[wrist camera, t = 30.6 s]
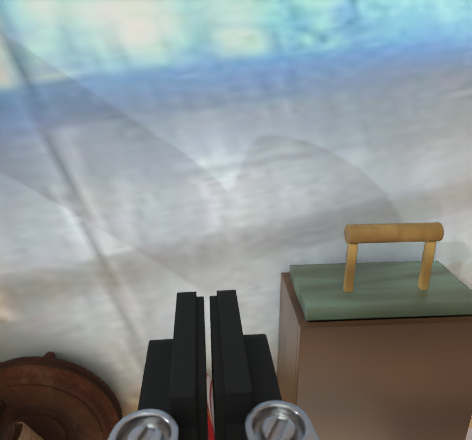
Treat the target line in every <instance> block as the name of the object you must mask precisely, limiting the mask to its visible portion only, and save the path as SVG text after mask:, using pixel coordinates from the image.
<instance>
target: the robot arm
mask: <svg viewBox="0 0 472 440" xmlns="http://www.w3.org/2000/svg"><path fill="white" fill-rule="evenodd" d="M210 324H211V357H212V386H213V408H214V429H215V440H320V438H319V436H318V434H317V432H316V430H315V428H314V426H313V424H312V422H311V420H310V418H309V417H308V416H307V414H306V413H305V412H304V411H303V410H302V409H300V408H299V407H298V406H296V405H294V404H292V403H289V402H286V401H282V398H281V393H280V389H279V385H278V381H277V377H276V373H275V369H274V365H273V361H272V357H271V353H270V349H269V345H268V341H267V337H266V335H265V334H255V335H243V332H242V326H241V319H240V313H239V307H238V301H237V295H236V290H224V291H217V296H210ZM108 440H208V409H207V376H206V347H205V319H204V296H203V297H196V292H181V293H177V300H176V312H175V324H174V336H173V339H164V340H150V341H149V345H148V351H147V357H146V363H145V369H144V375H143V381H142V387H141V393H140V399H139V405H138V411H135V412H132V413H130V414H129V415H127V416H125V417H124V418H122V419H121V420H120V421H119V422H118V423H117V424H116V425H115V426H114V428H113V430H112V431H111V433H110V435H109V437H108Z"/></svg>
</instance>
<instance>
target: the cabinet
mask: <svg viewBox="0 0 472 440" xmlns="http://www.w3.org/2000/svg"><path fill="white" fill-rule="evenodd" d="M455 316H456V317H435V318H409V319H382V320H356V321H330V322H309V321H306V319H305V316H304V314H303V311H302V308H301V306H300V303H299V300H298V298H297V295H296V292H295V290H294V287H293V284H292V282H291V279H290V273H281V291H280V315H279V340H278V364H277V381H278V385H279V389H280V393H281V398H282V401H286V402H289V403H292V404H294V405H296V406H298V407H299V408H300V409H302V410H303V411H304V412H305V413H306V414H307V416H308V417H309V418H310V420H311V422H312V424H313V426H314V428H315V430H316V432H317V434H318V436H319V438H320V440H465V439H466V435H467V431H468V427H469V423H470V419H471V415H472V314H471V315H455Z"/></svg>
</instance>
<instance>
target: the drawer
mask: <svg viewBox="0 0 472 440" xmlns="http://www.w3.org/2000/svg"><path fill="white" fill-rule="evenodd" d="M344 235H345V240H346V242H347V243H348V246H347V256H346V264H314V265H290V279H291V282H292V284H293V287H294V290H295V292H296V295H297V298H298V300H299V303H300V306H301V308H302V311H303V314H304V316H305V319H306V321H309V322H330V321H356V320H382V319H409V318H435V317H456V316H455V315H471V314H472V290H471V289H469V288H468V287H467V286H466V285H465V284H464V283H463V282H461V281H460V280H459V279H458V278H457V277H456V276H455V275H453V274H452V273H451V272H450V271H449V270H448V269H447V268H445V267H444V266H443V265H442V264H441V263H440V262H439V261H433V258H434V252H435V247H436V241H441V240H442V238H443V235H444V230H443V226H442V224H441V223H439V222H435V223H394V224H353V225H346V227H345V232H344ZM424 241H425V245H424V251H423V257H422V261H414V262H381V263H356V257H357V248H358V244H357V243H387V242H424Z"/></svg>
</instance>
